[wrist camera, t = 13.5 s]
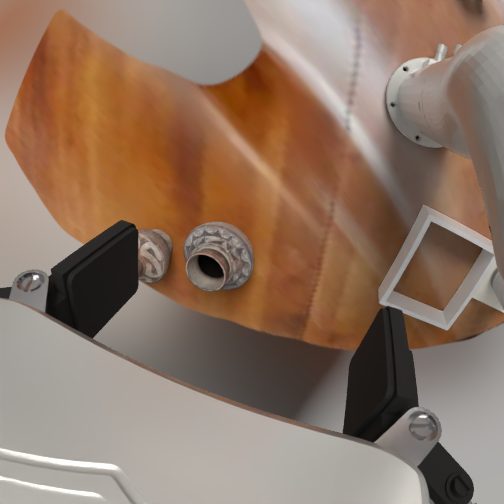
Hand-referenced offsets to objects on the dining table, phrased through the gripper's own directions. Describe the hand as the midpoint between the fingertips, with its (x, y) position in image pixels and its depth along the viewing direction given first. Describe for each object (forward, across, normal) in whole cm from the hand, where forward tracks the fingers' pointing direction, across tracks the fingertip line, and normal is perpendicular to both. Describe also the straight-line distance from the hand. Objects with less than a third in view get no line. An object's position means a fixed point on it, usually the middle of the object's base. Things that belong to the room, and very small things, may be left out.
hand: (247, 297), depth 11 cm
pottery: (+37, +16, +22) cm, 46 cm away
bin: (+36, -23, +12) cm, 44 cm away
